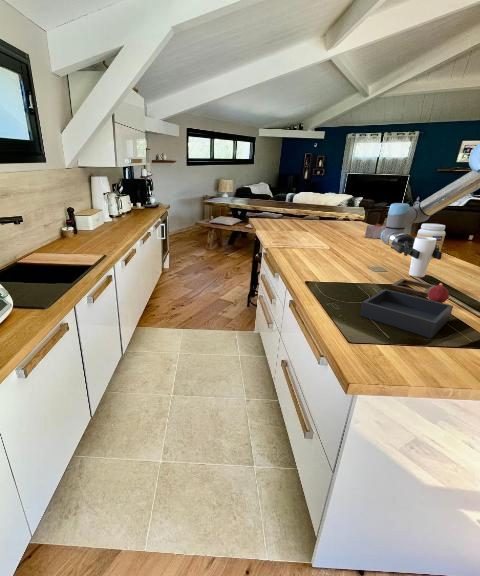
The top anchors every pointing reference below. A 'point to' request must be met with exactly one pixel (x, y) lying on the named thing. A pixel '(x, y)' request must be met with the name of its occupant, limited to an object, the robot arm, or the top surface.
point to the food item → (374, 231)
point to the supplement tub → (433, 233)
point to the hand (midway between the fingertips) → (429, 255)
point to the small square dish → (409, 290)
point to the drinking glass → (422, 255)
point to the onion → (438, 293)
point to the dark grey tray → (407, 312)
